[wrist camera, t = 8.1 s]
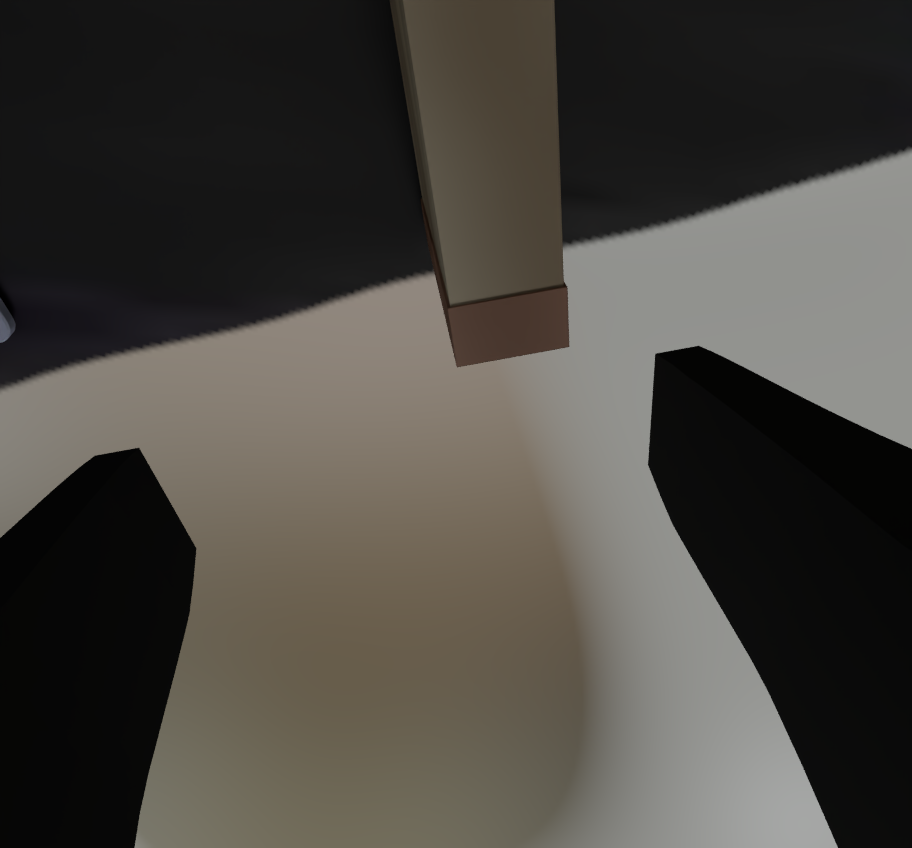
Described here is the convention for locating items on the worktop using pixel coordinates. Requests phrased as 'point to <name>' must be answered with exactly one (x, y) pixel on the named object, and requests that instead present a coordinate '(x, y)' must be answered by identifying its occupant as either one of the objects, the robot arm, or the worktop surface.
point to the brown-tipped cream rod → (488, 168)
